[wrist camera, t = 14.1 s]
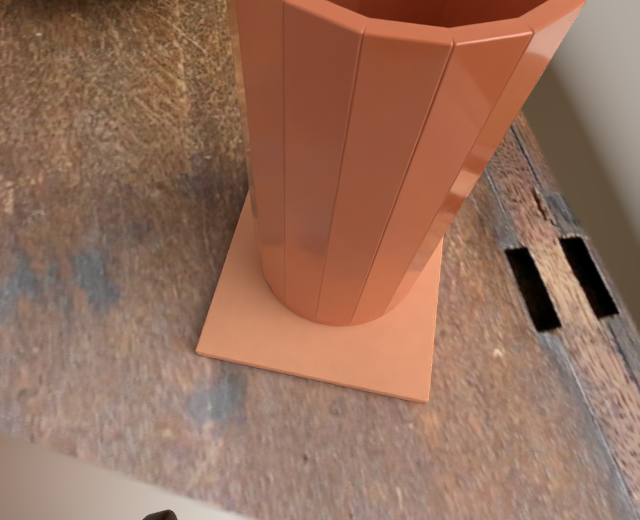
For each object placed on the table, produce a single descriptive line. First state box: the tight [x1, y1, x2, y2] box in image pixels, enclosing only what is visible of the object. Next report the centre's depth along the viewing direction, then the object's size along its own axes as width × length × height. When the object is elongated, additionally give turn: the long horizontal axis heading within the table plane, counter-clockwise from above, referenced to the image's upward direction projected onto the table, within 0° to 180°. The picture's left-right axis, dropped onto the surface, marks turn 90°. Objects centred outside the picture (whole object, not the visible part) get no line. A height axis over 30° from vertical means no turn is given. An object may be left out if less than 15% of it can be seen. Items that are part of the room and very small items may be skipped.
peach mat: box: [195, 190, 443, 404], centre depth 20 cm, size 11×9×1 cm
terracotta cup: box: [226, 0, 587, 327], centre depth 14 cm, size 7×7×13 cm
